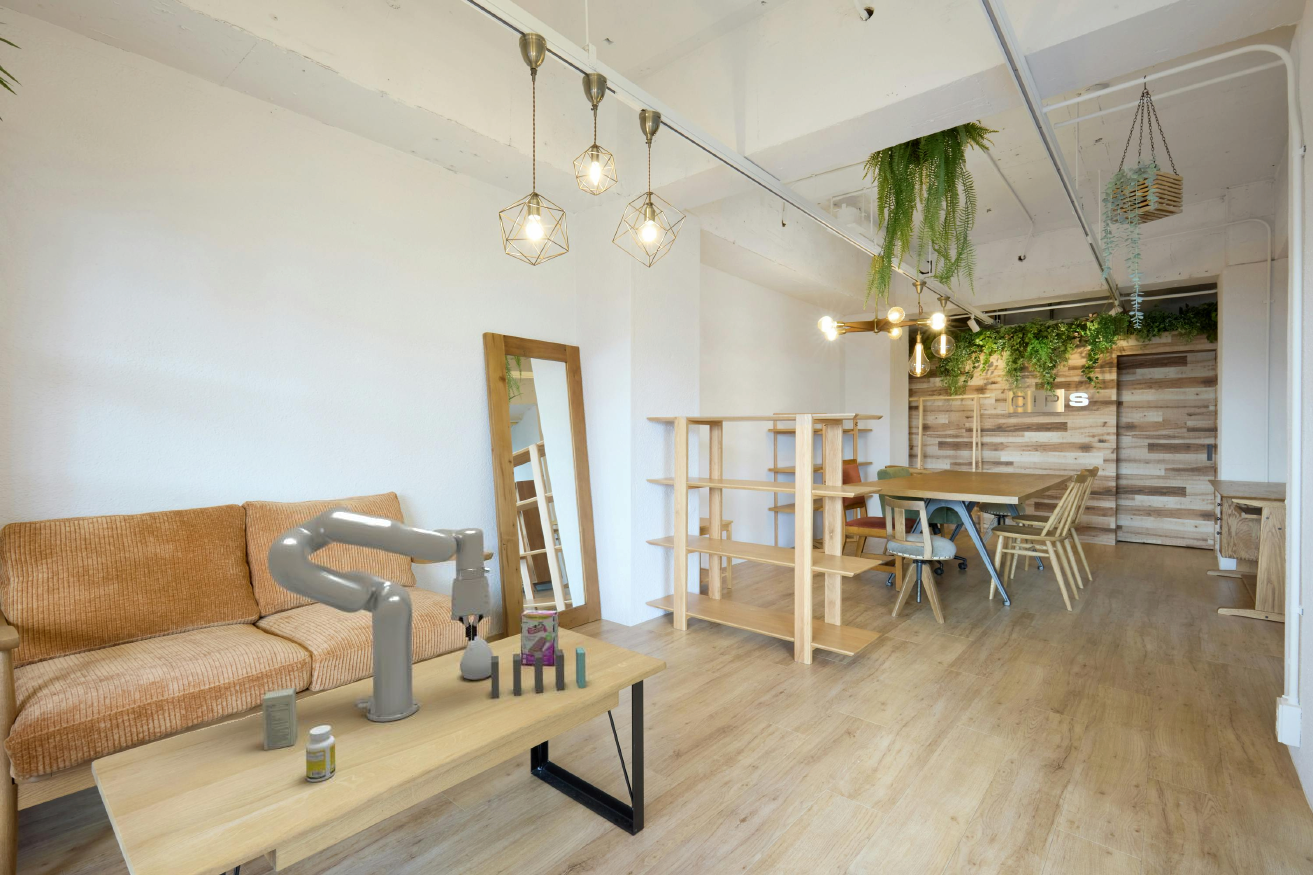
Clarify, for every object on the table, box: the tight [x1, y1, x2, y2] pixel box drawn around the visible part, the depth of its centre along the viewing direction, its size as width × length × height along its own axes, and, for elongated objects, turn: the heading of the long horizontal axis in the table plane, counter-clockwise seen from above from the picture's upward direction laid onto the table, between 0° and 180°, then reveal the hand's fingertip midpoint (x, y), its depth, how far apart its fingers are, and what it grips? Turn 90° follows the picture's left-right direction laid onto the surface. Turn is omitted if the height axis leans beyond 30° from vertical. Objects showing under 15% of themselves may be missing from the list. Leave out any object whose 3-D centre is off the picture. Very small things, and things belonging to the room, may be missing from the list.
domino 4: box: [554, 648, 565, 692], centre depth 173 cm, size 2×5×10 cm, turn 15°
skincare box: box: [261, 687, 298, 751], centre depth 141 cm, size 6×4×12 cm
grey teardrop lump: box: [459, 634, 495, 681], centre depth 182 cm, size 10×10×12 cm
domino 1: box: [490, 655, 500, 700], centre depth 168 cm, size 2×5×10 cm, turn 16°
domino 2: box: [512, 652, 522, 697], centre depth 169 cm, size 2×5×10 cm, turn 15°
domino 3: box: [533, 651, 544, 694], centre depth 171 cm, size 2×5×10 cm, turn 16°
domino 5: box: [575, 646, 587, 689], centre depth 174 cm, size 2×5×10 cm, turn 16°
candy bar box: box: [520, 609, 559, 667], centre depth 192 cm, size 11×5×16 cm, turn 84°
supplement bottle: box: [305, 724, 336, 783], centre depth 127 cm, size 5×5×10 cm
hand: (471, 639), depth 166 cm, fingers closed
